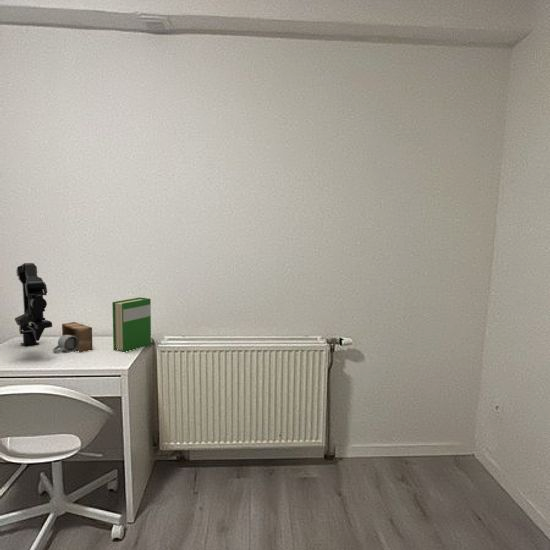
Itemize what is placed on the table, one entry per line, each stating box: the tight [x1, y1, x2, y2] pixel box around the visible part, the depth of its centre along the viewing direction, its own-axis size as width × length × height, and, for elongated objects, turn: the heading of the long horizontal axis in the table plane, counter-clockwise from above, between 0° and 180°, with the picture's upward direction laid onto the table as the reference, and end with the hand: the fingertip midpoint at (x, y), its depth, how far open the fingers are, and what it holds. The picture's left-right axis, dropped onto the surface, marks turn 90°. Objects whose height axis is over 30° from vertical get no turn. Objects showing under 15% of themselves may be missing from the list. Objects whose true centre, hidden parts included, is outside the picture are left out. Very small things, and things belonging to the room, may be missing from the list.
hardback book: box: [111, 297, 152, 353], centre depth 212 cm, size 18×7×24 cm, turn 151°
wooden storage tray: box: [61, 321, 94, 353], centre depth 210 cm, size 18×6×11 cm, turn 51°
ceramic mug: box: [52, 335, 79, 354], centre depth 205 cm, size 11×8×8 cm
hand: (37, 340), depth 195 cm, fingers closed
